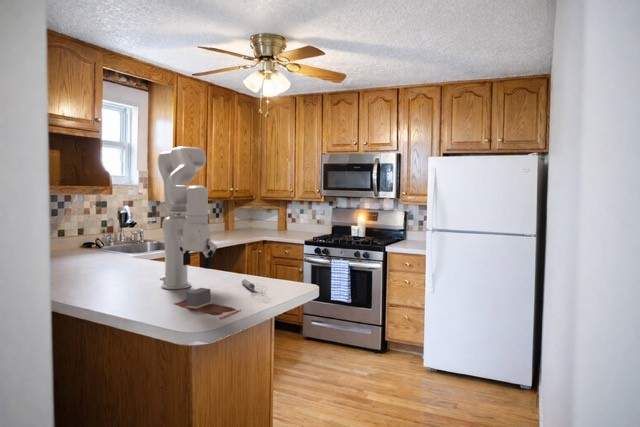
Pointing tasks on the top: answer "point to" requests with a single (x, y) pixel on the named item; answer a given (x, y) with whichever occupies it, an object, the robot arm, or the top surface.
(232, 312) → the carpenter pencil
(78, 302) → the top surface
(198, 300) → the sanding block
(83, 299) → the top surface
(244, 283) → the kitchen whisk
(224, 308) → the wooden tablet
